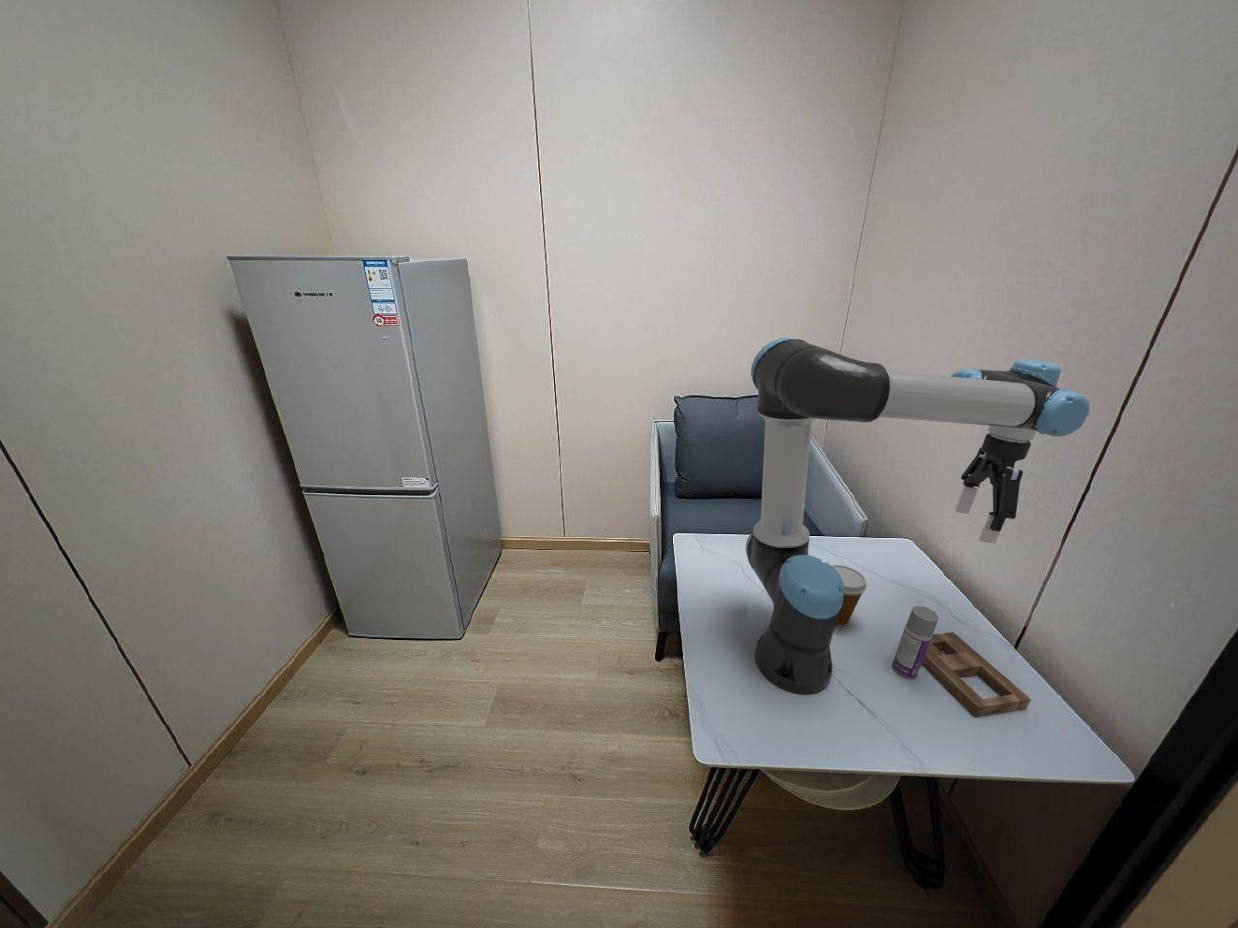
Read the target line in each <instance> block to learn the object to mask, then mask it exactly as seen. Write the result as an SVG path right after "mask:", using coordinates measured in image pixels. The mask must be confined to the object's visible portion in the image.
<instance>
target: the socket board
mask: <svg viewBox="0 0 1238 928" xmlns="http://www.w3.org/2000/svg"><path fill="white" fill-rule="evenodd" d="M921 666H923V667H924V668H925V669H926V670H927V671H928V672H929V674H931V675H932V676H933V677H934V678H935V679H936V680H937V681H938V682H939V684H940V685H942V687H944V688H945V690H946V691H948V693H950V695H952V696H953V697H954V699H956V701H957V702H958V703H960V705H962V707H963V708H964V709H966V710H967V712H968V713H970V715H971V716H972V717H973V718H977V717H983V716H989V715H997V714H1001V713H1007V712H1014V711H1019V710H1021V711H1022V710H1027V708H1028V706H1029V704H1030V702H1031V701H1032V698H1030V697H1029V696H1028V695H1027V694H1026V693H1025V692H1024V691H1022V690H1021V689H1020V688H1019V687H1018V686H1017V685H1015V684H1014V683H1013V682H1012V681H1011V680H1010V679H1009V678H1007V677H1006V676H1005V675H1003V673H1002V672H1000V671H999V670H998V669H997V668H996V667H994V666H993V665H992V664H991V663H990V662H988V661H987V659H985V658H984V657H983V656H981V654H979V653H978V652H977V651H976V650H975V649H973V648H972V647H971V646H970V645H969V644H968V643H967V642H966V641H964V639H962V638H961V637H960V636H958V634H956V633H955V632H954V631H950V632H949V631H948V632H944V633H943V632H942V633H933V636H932V639H931V641H930V644H929V646H928V649H927V651H926V654H925V657H924V659H923V662H922V664H921ZM974 676H977V677H978V678H979V679H980V680H982V681H983V682H984V683H985V685H987V686H988V687H990V689H992V690H993V691H994V693H996V694H997V695H998V696H994V697H988V698H982V697H981V696H980V695H979V693H978V692H976V691H975V690H974V689H973V688H972V687H971V686H970V685H969V684H967V683H966V682H965V681H964V679H962V678H966V677H974Z"/></svg>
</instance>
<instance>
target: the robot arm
mask: <svg viewBox="0 0 1238 928" xmlns="http://www.w3.org/2000/svg"><path fill="white" fill-rule="evenodd" d="M751 363H752V364H751V368H750V369H751V370H750V376H751V380H752V382H753V386H754V387H755V389H757V413H758V415H760V417H761V418H763V419H764V422H765V423H764V438H763V439H764V440H763V441H764V443H763V444H764V447H763V465H762V467H763V468H762V469H763V470H762V488H761V490H762V491H761V509H760V510H761V511H760V512H761V513H760V520H759V521H757V522H756V523H755V524H754V526H753V530H752V533H750V534H749V536H748V538H747V539H746V543H745V552H746V553H745V555H746V557H747V561H748V563H749V565H750V567H751V569H752V570H753V571H754V573H755V575H756V576H757V578H758V579H759V581H760V583H761V585H762V586H763V588H764V589H765V591H766V593H767V595H768V596H769V598H770V600H771V602H772V604H773V607H772V608H773V609H772V612H771V613H772V614H771V617H770V618H771V619H770V622H769V626H767V628H766V630H765V632H764V633H763V634H762V635H761V636H760V637H759V639H758V641H757V643H756V647H755V652H754V660H755V663H756V666H757V667H758V669H759V671H760V672H761V674H762V675H763V676H764V677H766V679H768V680H769V681H770V682H771V683H772V684H774V685H776V686H777V687H779V688H781V689H783V690H785V691H788V692H791V693H795V694H798V695H799V694H801V695H812V694H816V693H819V692H821V691H824V690H826V688H827V687H828V686H829V684H830V681H831V679H832V676H833V675H832V674H833V660H832V654H831V647H830V645H831V641H832V639H833V634H834V632H835V628H836V622H837V618H838V615H839V612H840V609H841V607H842V604H843V595H844V583H843V580H842V578H841V576H840V574H839V573H838V572H837V571H836V570H835V569H834V568H833V567H832V566H831V565H832V564H830V563H828V562H826V561H825V562H823V561H822V559H820V558H818V557H816V556H811V555H809V548H810V536H811V535H810V531H809V529H808V528H807V527H806V526H805V525H804V516H805V505H806V492H807V479H808V469H809V459H810V458H809V457H810V447H811V445H810V444H811V435H812V423H813V421H814V420H815V419H818V420H827V421H842V422H855V423H872V422H875V421H876V420H878V419H880V418H887V419H898V420H899V419H900V420H913V421H927V422H940V423H953V424H966V425H978V426H979V425H980V426H988V427H987V431H988V433H987V434H985V437H984V440H983V442H982V445H981V446H980V447H979V449H978V451H977V453H976V455H975V457H974V458H973V460H972V461H971V462H970V464H969V465H968V466H967V467H966V469H965V470H964V472H963V473H962V474H961V476H960V479H961V480H963V482H962V485H963V486H962V487H963V488H962V489H961V492H960V496H959V498H958V500H957V503H956V506H955V508H954V512H955V513H960V514H967V515H969V514H970V511H971V509H972V506H973V504H974V501H975V498H976V496H977V494H978V490H979V488H980V486H981V484H982V483H983V482H984V481H985V480H987V479H989V483H990V484H991V485H992V511H991V512H988V516H987V519H986V521H985V524H984V527H983V528H982V530H981V533H980V536H979V538H978V541H979V542H982V543H988V544H996V542H997V540H998V538H999V535H1000V533H1001V531H1002V529H1003V526H1004V524H1005V521H1006V519H1011V520H1015V519H1016V517H1017V516H1016V515H1017V508H1018V502H1019V495H1020V484H1021V480H1022V478H1023V475H1024V471H1023V470H1022V469H1016V468H1015V465H1016V462H1018V461H1022V460H1025V459H1026V457H1027V456H1028V453H1029V452H1030V448H1031V446H1032V443H1031V441H1032V440H1034V438H1035V435H1036V433H1037V432H1038V433H1039V434H1041V435H1046V436H1050V437H1055V438H1056V437H1057V438H1060V437H1061V438H1063V437H1066V436H1069V435H1072V434H1073V433H1075V432H1076V431H1078V430H1079V429H1080V428H1081V427H1082V426H1083V425H1084V423H1085V422H1086V420H1087V418H1088V416H1089V414H1090V402H1089V401H1088V398H1087V397H1085V396H1084V395H1083V394H1080V393H1078V392H1074V391H1072V390H1069V389H1067V388H1059V387H1058V386H1057V385H1058V382H1059V378H1060V375H1061V372H1062V367H1061V366H1060V365H1058V364H1056V363H1053V362H1048V361H1042V360H1035V359H1018V360H1015V361H1014V362H1013V363H1012V366H1011V367H1010V368H1009V370H996V369H995V370H994V369H993V370H990V369H978V368H973V369H960V370H959V369H958V370H957V371H955V372H953V373H952V374H951V375H948V376H947V375H939V374H938V375H937V374H936V375H935V374H928V373H927V374H926V373H915V372H914V373H913V372H906V371H905V372H903V371H893V370H889V369H888V368H887V367H886V366H885V365H884V364H882V363H878V362H877V363H876V362H868V361H863V360H858V359H856V358H855V359H854V358H852V357H848V356H847V355H843V354H840V353H837V352H835V351H832V350H829V349H828V348H823V347H821V346H818V345H815V344H812V343H809V342H807V341H806V340H803V339H800V338H790V337H784V338H783V337H782V338H781V337H780V338H777V339H775V340H772V341H771V342H768V343H767V344H766V345H764V346H763V347H762V348H761V350H759V351H758V352H757V354H755V357H754V359H753V362H751Z"/></svg>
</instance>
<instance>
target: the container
mask: <svg viewBox="0 0 1238 928" xmlns="http://www.w3.org/2000/svg"><path fill="white" fill-rule="evenodd" d="M938 622H939V615H938V614H937V613H936V612H935V611H934V610H933V609H931V608H929V607H926V606H922V605H916V606H913V607H912V609H911V612H910V614H909V616H908V619H907V622H906V624H905V626H904V629H903V632H902V635H901V638H900V640H899V642H898V643H899V644H898V646H897V649H896V652H895V655H894V657H893V660H892V662H891V663H892V664H891V668H892V670H893V672H895V674H897V675H898V676H900V677H901V678H904V679H908V680H913V679H914V680H915V679H916V678H917V677H918V674H919V671H920V669H921V667H922V662H923V659H924V657H925V654H926V651H927V649H928V646H929V644H930V641H931V639H932V636H933V634H935V633H934V632H935V629H936V626H937V624H938Z"/></svg>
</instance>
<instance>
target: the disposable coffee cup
mask: <svg viewBox="0 0 1238 928" xmlns="http://www.w3.org/2000/svg"><path fill="white" fill-rule="evenodd" d="M830 565H831V566H832V567H833V568H834V569H835V570H836V571H837V572H838V573H839V574H840V576H841V578H842V580H843V583H844V595H843V604H842V607H841V609H840V612H839V615H838V618H837V622H836V625H835V627H836V626H838V627H843V626H846V625H848V623H849V621H850V619H851V617H852V615H853V614H854V611H855V609H856V607H857V605H858V603H859V601H860V599H861V597H862V594H863V593H865V592H866V591H867V588H868V584H867V580H866V578H865V576H864V574H862V573H861V572H860V571H858V570H856V569H855V568H853V567H849V566H847V565H843V564H830Z"/></svg>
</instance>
